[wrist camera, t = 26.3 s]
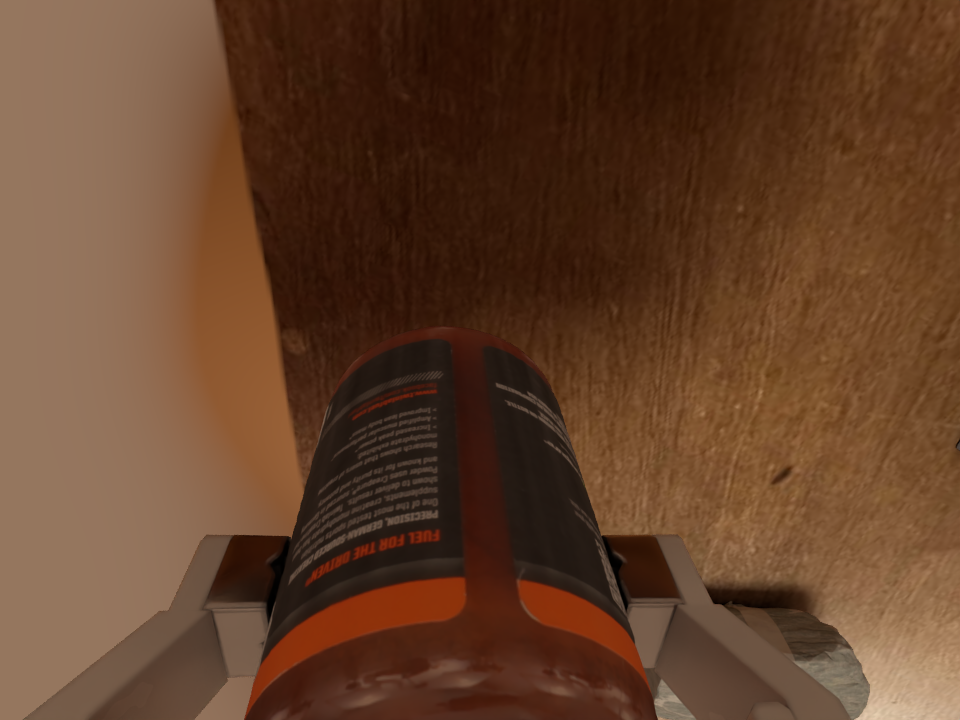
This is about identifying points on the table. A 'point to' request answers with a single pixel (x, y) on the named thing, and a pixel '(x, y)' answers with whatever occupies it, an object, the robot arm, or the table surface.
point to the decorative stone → (802, 644)
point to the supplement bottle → (447, 553)
